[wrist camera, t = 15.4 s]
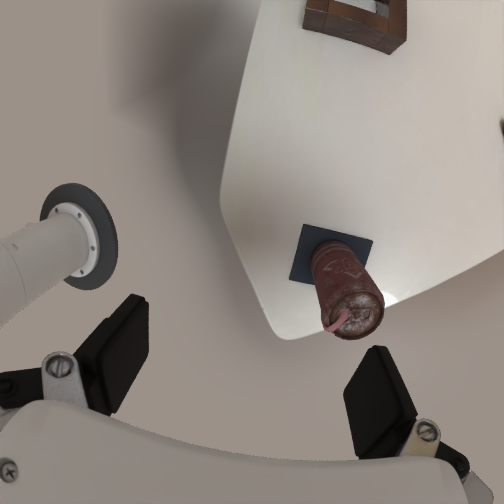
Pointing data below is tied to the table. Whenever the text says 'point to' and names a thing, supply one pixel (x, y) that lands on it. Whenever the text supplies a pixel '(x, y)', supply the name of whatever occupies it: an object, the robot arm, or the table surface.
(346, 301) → the can
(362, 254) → the mat
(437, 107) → the table surface
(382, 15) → the holder
